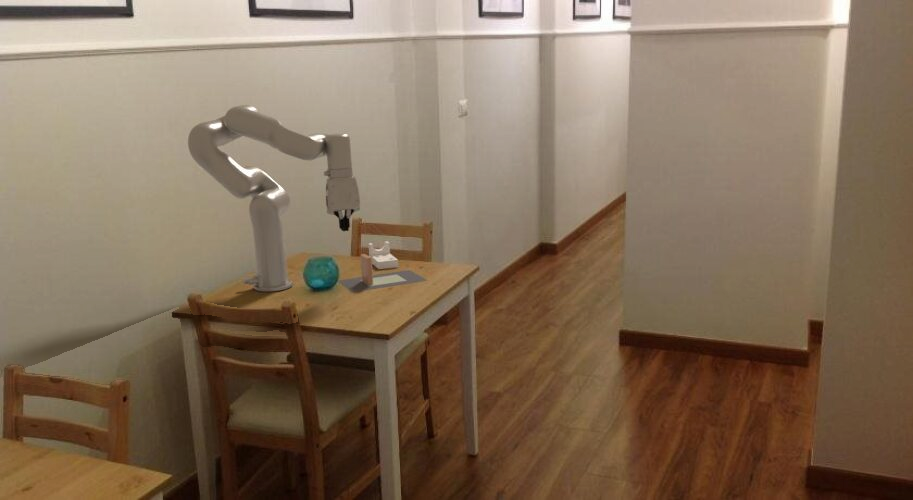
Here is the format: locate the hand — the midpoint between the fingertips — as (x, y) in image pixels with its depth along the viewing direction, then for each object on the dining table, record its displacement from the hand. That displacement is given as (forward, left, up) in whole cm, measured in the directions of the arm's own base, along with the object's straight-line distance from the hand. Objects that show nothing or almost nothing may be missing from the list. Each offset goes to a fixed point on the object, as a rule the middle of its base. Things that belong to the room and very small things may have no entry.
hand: (344, 230), depth 265 cm
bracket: (+20, +21, -20) cm, 35 cm away
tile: (+7, 0, -18) cm, 20 cm away
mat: (+12, 0, -19) cm, 22 cm away
